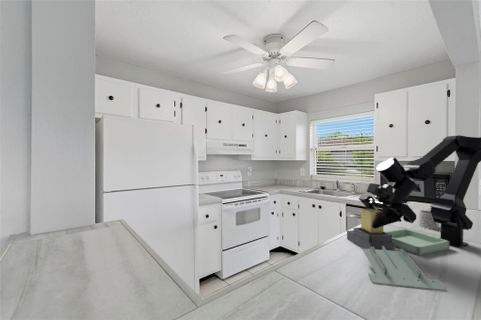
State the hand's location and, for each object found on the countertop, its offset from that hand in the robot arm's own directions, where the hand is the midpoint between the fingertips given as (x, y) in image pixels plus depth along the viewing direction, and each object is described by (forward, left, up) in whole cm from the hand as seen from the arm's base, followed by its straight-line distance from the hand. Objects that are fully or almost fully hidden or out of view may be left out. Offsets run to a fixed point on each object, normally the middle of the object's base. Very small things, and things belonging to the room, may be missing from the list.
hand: (368, 225), depth 71 cm
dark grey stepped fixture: (-2, -1, -7) cm, 7 cm away
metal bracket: (+9, +15, -8) cm, 19 cm away
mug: (-46, -8, -7) cm, 48 cm away
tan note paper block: (-1, 0, -4) cm, 4 cm away
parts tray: (-16, +3, -7) cm, 18 cm away
